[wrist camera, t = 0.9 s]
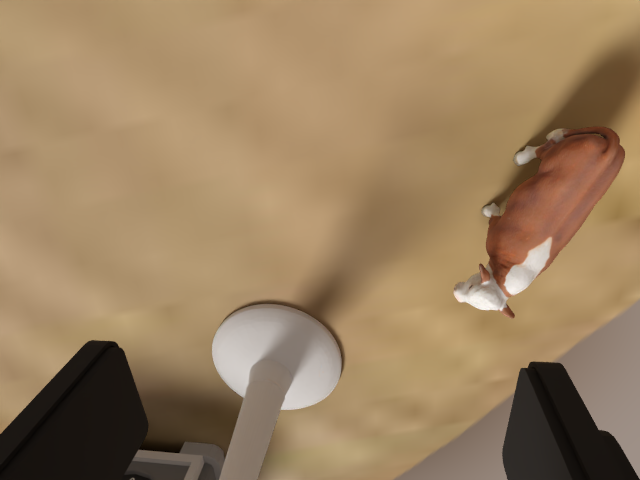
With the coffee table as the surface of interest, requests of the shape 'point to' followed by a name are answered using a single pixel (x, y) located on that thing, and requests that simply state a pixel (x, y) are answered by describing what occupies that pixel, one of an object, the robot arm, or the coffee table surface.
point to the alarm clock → (178, 464)
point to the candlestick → (271, 375)
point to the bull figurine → (542, 213)
